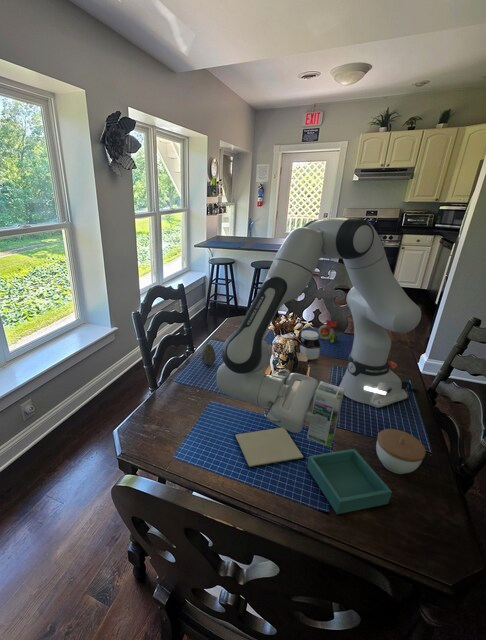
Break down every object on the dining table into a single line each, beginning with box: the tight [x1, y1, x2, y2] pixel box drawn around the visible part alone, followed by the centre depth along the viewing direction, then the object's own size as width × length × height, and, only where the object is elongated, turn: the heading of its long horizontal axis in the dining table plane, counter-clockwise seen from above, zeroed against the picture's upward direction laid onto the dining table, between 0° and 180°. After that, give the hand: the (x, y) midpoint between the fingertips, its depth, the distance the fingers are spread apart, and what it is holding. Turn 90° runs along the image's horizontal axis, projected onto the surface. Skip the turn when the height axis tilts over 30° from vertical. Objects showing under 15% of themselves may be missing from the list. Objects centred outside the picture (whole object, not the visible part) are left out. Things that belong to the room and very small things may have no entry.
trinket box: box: [375, 428, 427, 475], centre depth 86 cm, size 11×11×9 cm
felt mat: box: [235, 427, 304, 468], centre depth 94 cm, size 16×12×1 cm
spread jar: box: [300, 329, 321, 362], centre depth 139 cm, size 12×11×12 cm
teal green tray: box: [306, 448, 393, 515], centre depth 81 cm, size 14×14×4 cm
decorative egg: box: [200, 343, 216, 367], centre depth 135 cm, size 6×6×10 cm
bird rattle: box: [318, 319, 340, 344], centre depth 154 cm, size 6×11×9 cm
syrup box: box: [306, 380, 345, 448], centre depth 79 cm, size 6×6×14 cm
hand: (329, 411), depth 78 cm, fingers closed on syrup box, 6 cm apart
